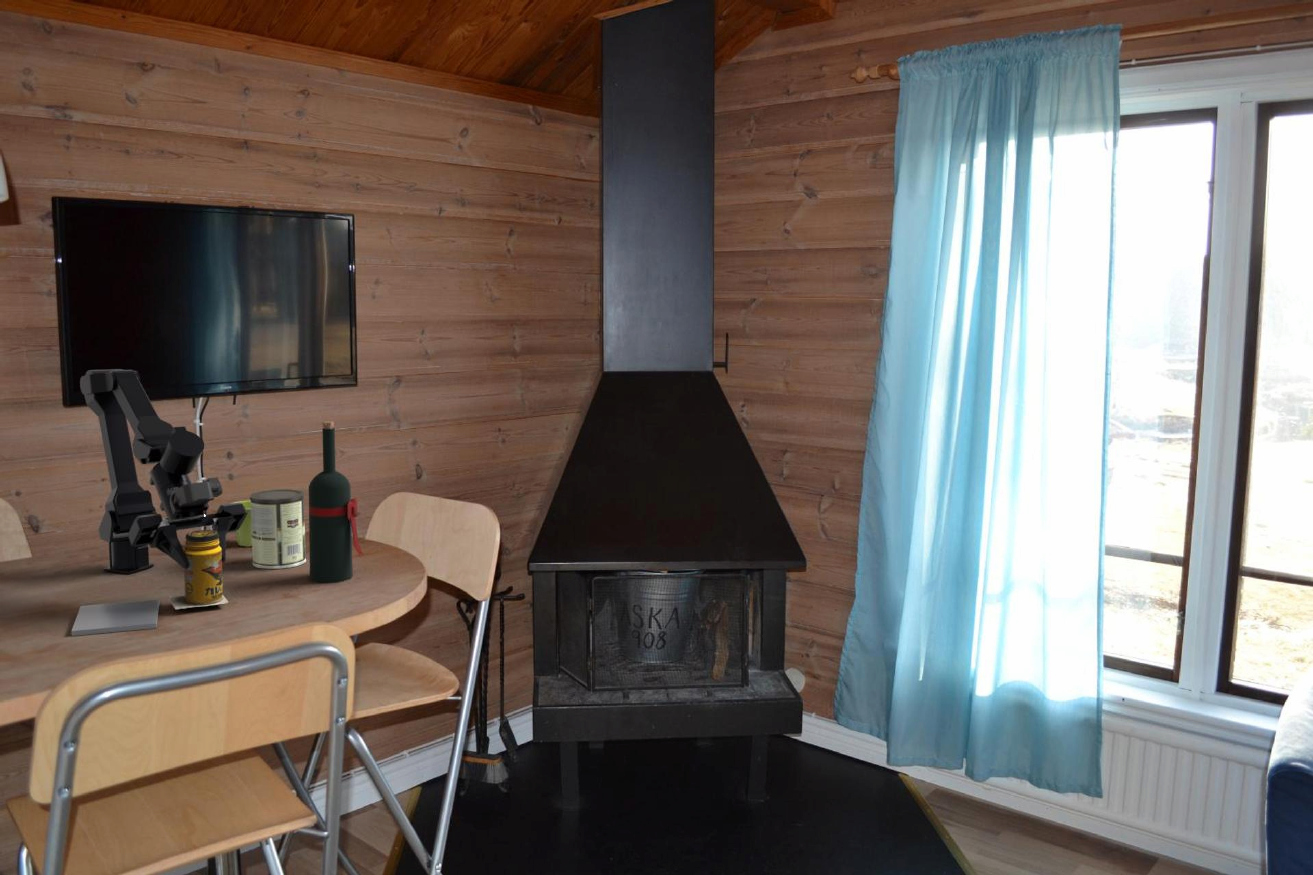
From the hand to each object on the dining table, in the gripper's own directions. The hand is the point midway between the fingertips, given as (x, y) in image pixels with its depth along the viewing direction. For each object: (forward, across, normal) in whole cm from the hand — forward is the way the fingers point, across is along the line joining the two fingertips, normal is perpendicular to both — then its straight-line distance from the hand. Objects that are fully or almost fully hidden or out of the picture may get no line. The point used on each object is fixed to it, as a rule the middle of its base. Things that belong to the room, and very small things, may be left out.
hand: (205, 564), depth 180 cm
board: (+3, -13, +8) cm, 16 cm away
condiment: (+4, -1, +6) cm, 7 cm away
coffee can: (-8, +23, +19) cm, 31 cm away
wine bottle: (+4, +26, +7) cm, 27 cm away
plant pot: (-20, +27, +32) cm, 47 cm away
